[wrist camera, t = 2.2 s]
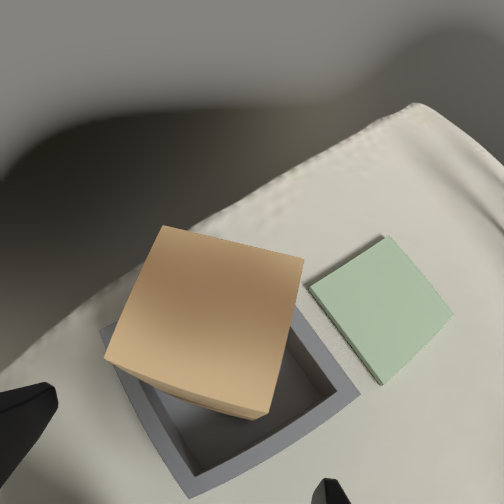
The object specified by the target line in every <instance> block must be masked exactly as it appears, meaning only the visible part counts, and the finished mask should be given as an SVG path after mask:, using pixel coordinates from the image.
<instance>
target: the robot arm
mask: <svg viewBox="0 0 504 504" xmlns="http://www.w3.org/2000/svg"><path fill="white" fill-rule="evenodd" d="M57 408H58V399H57V394H56V389H55V387H54V386H52V385H50V384H49V383H47V382H42V383H38V384H34V385H30V386H26V387H22V388H17V389H13V390H9V391H5V392H0V488H1V487H2V485H3V484H4V483H5V481H6V480H7V479H8V478H9V476H10V475H11V474H12V472H13V471H14V470H15V468H16V467H17V466H18V464H19V463H20V462H21V461H22V459H23V458H24V457H25V456H26V454H27V453H28V452H29V450H30V449H31V448H32V447H33V445H34V444H35V443H36V442H37V440H38V439H39V437H40V436H41V434H42V433H43V431H44V430H45V428H46V426H47V425H48V423H49V421H50V420H51V418H52V417H53V415H54V414H55V412H56V410H57ZM311 504H351V503H350V501H349V499H348V497H347V496H346V494H345V492H344V491H343V489H342V487H341V486H340V484H339V482H338V481H337V480H336V479H331V478H324V479H322V481H321V482H320V484H319V485H318V486H317V488H316V489H315V491H314V493H313V496H312V501H311Z"/></svg>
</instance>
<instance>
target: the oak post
mask: <svg viewBox="0 0 504 504" xmlns="http://www.w3.org/2000/svg"><path fill="white" fill-rule="evenodd" d="M303 264H304V259H302V258H298V257H294V256H290V255H286V254H282V253H277V252H273V251H269V250H265V249H261V248H257V247H252V246H248V245H244V244H240V243H236V242H231V241H227V240H223V239H219V238H215V237H210V236H206V235H202V234H198V233H193V232H189V231H185V230H181V229H177V228H172V227H168V226H164V225H163V226H162V228H161V230H160V232H159V234H158V236H157V238H156V240H155V242H154V244H153V246H152V248H151V250H150V252H149V254H148V256H147V259H146V261H145V263H144V265H143V267H142V269H141V271H140V273H139V276H138V278H137V280H136V282H135V284H134V286H133V289H132V291H131V293H130V295H129V298H128V300H127V302H126V305H125V307H124V309H123V311H122V314H121V316H120V319H119V321H118V323H117V326H116V328H115V331H114V333H113V335H112V338H111V340H110V343H109V345H108V348H107V350H106V353H105V356H104V358H103V359H105V360H107V361H108V362H110V363H112V364H113V365H115V366H117V367H119V368H120V369H122V370H124V371H126V372H127V373H129V374H131V375H133V376H134V377H136V378H138V379H140V380H142V381H144V382H146V383H147V384H149V385H151V386H153V387H155V388H157V389H159V390H161V391H163V392H165V393H167V394H169V395H171V396H173V397H175V398H177V399H179V400H181V401H184V402H187V403H190V404H193V405H196V406H199V407H203V408H206V409H209V410H213V411H216V412H219V413H223V414H227V415H230V416H234V417H238V418H241V419H245V420H249V421H253V420H255V419H257V418H259V417H261V416H264V415H266V414H268V413H269V409H270V405H271V401H272V398H273V394H274V390H275V386H276V382H277V378H278V374H279V370H280V366H281V362H282V358H283V354H284V350H285V346H286V341H287V337H288V333H289V328H290V324H291V320H292V315H293V311H294V306H295V302H296V297H297V292H298V288H299V283H300V278H301V273H302V269H303Z"/></svg>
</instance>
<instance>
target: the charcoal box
mask: <svg viewBox="0 0 504 504" xmlns="http://www.w3.org/2000/svg"><path fill="white" fill-rule="evenodd" d="M117 323H118V321H117V322H115V323H114V324H112V325H110V326H108V327H106V328H104V329H102V330H100V334H101V337H102V339H103V342H104V344H105V347H106V349H107V348H108V345H109V343H110V340H111V338H112V335H113V333H114V331H115V328H116V326H117ZM114 368H115V370H116V372H117V374H118V377H119V379H120V381H121V383H122V385H123V387H124V389H125V392H126V394H127V396H128V398H129V400H130V402H131V404H132V406H133V408H134V410H135V412H136V413H137V415H138V417H139V419H140V421H141V423H142V425H143V427H144V428H145V430H146V432H147V434H148V436H149V437H150V439H151V441H152V443H153V444H154V446H155V448H156V449H157V451H158V453H159V455H160V456H161V458H162V459H163V461H164V463H165V464H166V466H167V467H168V469H169V471H170V472H171V474H172V475H173V477H174V478H175V480H176V481H177V483H178V484H179V486H180V487H181V489H182V490H183V492H184V493H185V495H186V496H187V497H188V499H191V498H193V497H195V496H197V495H200V494H202V493H204V492H206V491H208V490H210V489H213V488H215V487H217V486H219V485H221V484H223V483H225V482H227V481H229V480H231V479H233V478H235V477H236V476H238V475H240V474H242V473H244V472H246V471H248V470H249V469H251V468H253V467H255V466H257V465H258V464H260V463H262V462H264V461H265V460H267V459H269V458H270V457H272V456H274V455H275V454H277V453H279V452H280V451H282V450H283V449H285V448H287V447H288V446H290V445H291V444H293V443H294V442H296V441H298V440H299V439H301V438H302V437H304V436H305V435H307V434H308V433H310V432H311V431H312V430H314V429H315V428H317V427H318V426H320V425H321V424H322V423H324V422H325V421H327V420H328V419H329V418H331V417H332V416H334V415H335V414H336V413H338V412H339V411H340V410H342V409H343V408H344V407H345V406H347V405H348V404H349V403H351V402H352V401H353V400H354V399H356V398H357V397H358V396H359V395H361V394H360V392H359V391H358V390H357V388H356V387H355V385H354V384H353V383H352V381H351V380H350V379H349V377H348V376H347V375H346V373H345V372H344V370H343V369H342V368H341V366H340V365H339V364H338V362H337V361H336V360H335V358H334V357H333V355H332V354H331V353H330V351H329V350H328V349H327V347H326V346H325V345H324V343H323V342H322V341H321V339H320V338H319V336H318V335H317V334H316V332H315V331H314V330H313V328H312V327H311V326H310V324H309V323H308V322H307V320H306V319H305V317H304V316H303V315H302V313H301V312H300V311H299V309H298V308H297V307H296V305H295V306H294V311H293V315H292V320H291V324H290V328H289V333H288V337H287V341H286V346H285V350H284V354H283V358H282V362H281V366H280V370H279V374H278V378H277V382H276V386H275V390H274V394H273V398H272V401H271V405H270V409H269V413H268V414H266V415H264V416H261V417H259V418H257V419H255V420H253V421H249V420H245V419H241V418H238V417H234V416H230V415H227V414H223V413H219V412H216V411H213V410H209V409H206V408H203V407H199V406H196V405H193V404H190V403H187V402H184V401H181V400H179V399H177V398H175V397H173V396H171V395H169V394H167V393H165V392H163V391H161V390H159V389H157V388H155V387H153V386H151V385H149V384H147V383H146V382H144V381H142V380H140V379H138V378H136V377H134V376H133V375H131V374H129V373H127V372H126V371H124V370H122V369H120V368H119V367H117V366H115V365H114Z"/></svg>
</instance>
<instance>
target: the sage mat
mask: <svg viewBox="0 0 504 504" xmlns="http://www.w3.org/2000/svg"><path fill="white" fill-rule="evenodd" d="M309 291H310V293H311V294H312V295H313V297H314V298H315V299H316V300H317V302H318V303H319V304H320V306H321V307H322V308H323V310H324V311H325V312H326V314H327V315H328V316H329V318H330V319H331V320H332V322H333V323H334V324H335V325H336V327H337V328H338V329H339V331H340V332H341V333H342V335H343V336H344V337H345V339H346V340H347V341H348V343H349V344H350V345H351V347H352V348H353V349H354V351H355V352H356V353H357V355H358V356H359V357H360V359H361V360H362V362H363V363H364V364H365V366H366V367H367V368H368V370H369V371H370V372H371V374H372V375H373V376H374V378H375V379H376V380H377V382H378V383H379V385H380V386H382V385H384V384H385V383H386V382H388V381H389V380H390V379H391V378H392V377H393V376H394V375H395V374H396V373H397V372H399V371H400V370H401V369H402V368H403V367H404V366H405V365H406V364H407V363H408V362H409V361H410V360H411V359H412V358H413V357H414V356H415V355H416V354H417V353H418V352H419V351H420V350H421V349H422V348H423V347H424V346H425V345H426V344H427V343H428V342H429V341H430V340H431V339H432V338H433V337H434V336H435V335H436V334H437V333H438V332H439V331H440V330H441V329H442V327H443V326H444V325H445V324H446V323H447V322H448V321H449V320H450V319H451V317H452V316H453V315H454V313H453V312H452V310H451V309H450V308H449V306H448V305H447V304H446V302H445V301H444V300H443V299H442V297H441V296H440V295H439V293H438V292H437V291H436V290H435V288H434V287H433V286H432V285H431V283H430V282H429V281H428V280H427V279H426V277H425V276H424V275H423V274H422V272H421V271H420V270H419V269H418V268H417V266H416V265H415V264H414V263H413V262H412V261H411V259H410V258H409V257H408V256H407V255H406V254H405V252H404V251H403V250H402V249H401V248H400V247H399V246H398V245H397V243H396V242H395V241H394V240H393V239H392V238H391V237H390V236H387V237H386V238H384V239H383V240H381V241H380V242H378V243H377V244H375V245H374V246H372V247H371V248H369V249H368V250H366V251H365V252H363V253H362V254H360V255H359V256H357V257H356V258H354V259H352V260H351V261H349V262H348V263H346V264H345V265H343V266H342V267H340V268H339V269H337V270H335V271H334V272H332V273H331V274H329V275H328V276H326V277H324V278H323V279H321V280H320V281H318V282H316V283H315V284H313V285H312V286H310V288H309Z"/></svg>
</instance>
